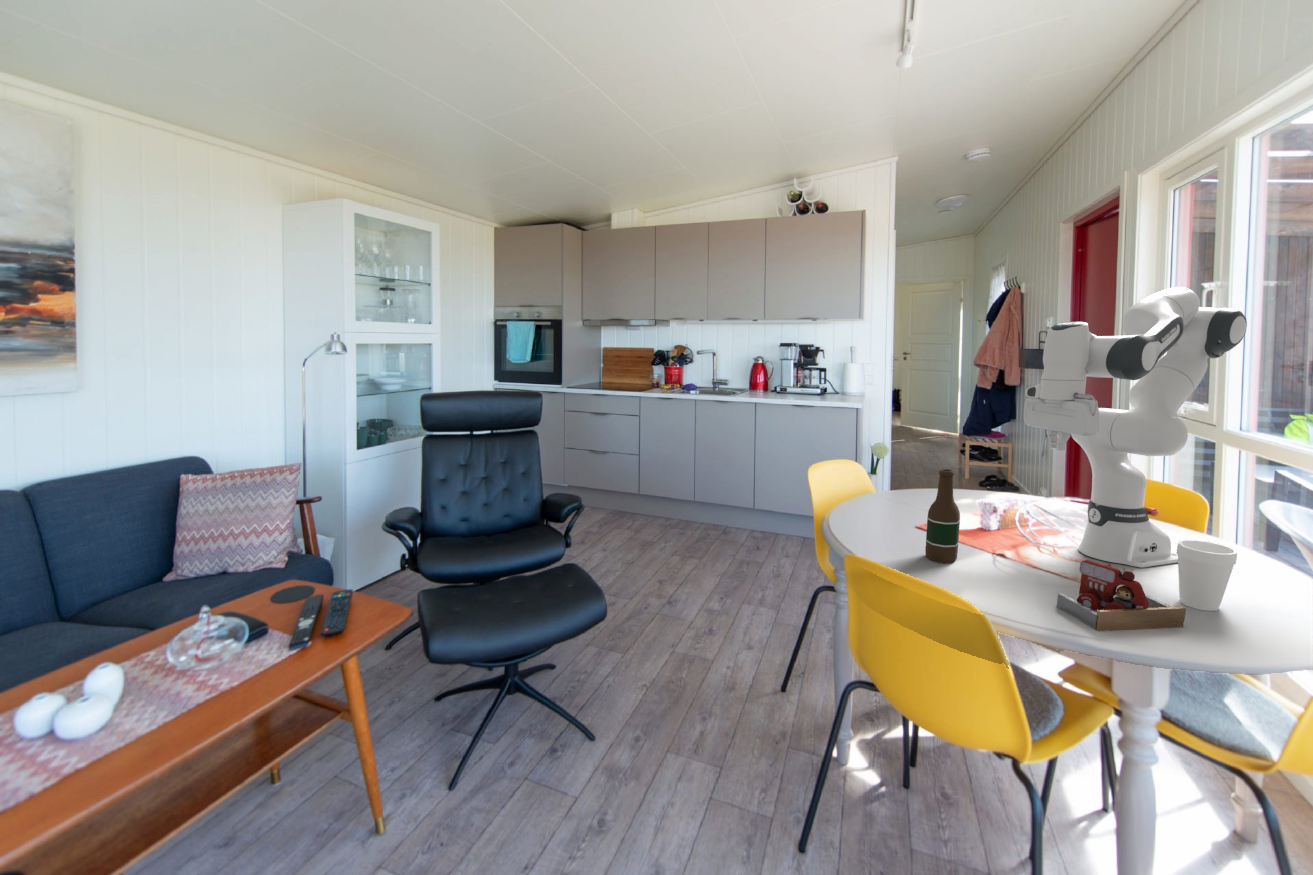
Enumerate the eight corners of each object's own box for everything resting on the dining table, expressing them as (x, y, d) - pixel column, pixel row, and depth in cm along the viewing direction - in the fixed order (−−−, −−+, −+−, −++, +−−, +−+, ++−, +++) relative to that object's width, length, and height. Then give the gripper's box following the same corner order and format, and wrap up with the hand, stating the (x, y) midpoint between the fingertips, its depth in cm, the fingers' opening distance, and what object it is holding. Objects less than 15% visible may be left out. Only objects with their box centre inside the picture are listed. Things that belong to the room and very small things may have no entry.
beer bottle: (944, 565, 152) (950, 474, 148) (918, 556, 159) (923, 469, 155) (963, 560, 155) (970, 471, 152) (937, 551, 162) (943, 466, 158)
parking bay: (1134, 602, 129) (1137, 585, 128) (1183, 626, 118) (1186, 608, 117) (1056, 606, 128) (1058, 588, 127) (1098, 630, 117) (1100, 611, 116)
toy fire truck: (1134, 631, 117) (1140, 581, 115) (1067, 606, 128) (1072, 560, 126) (1152, 623, 120) (1158, 574, 118) (1085, 600, 131) (1090, 555, 129)
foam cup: (1159, 596, 132) (1166, 540, 130) (1197, 594, 133) (1204, 538, 131) (1201, 615, 123) (1209, 555, 121) (1241, 613, 124) (1250, 553, 122)
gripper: (1111, 395, 129) (1104, 457, 132) (1044, 388, 150) (1039, 442, 152) (1083, 395, 129) (1077, 457, 131) (1020, 389, 149) (1016, 442, 151)
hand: (1056, 449), depth 142 cm, fingers closed
